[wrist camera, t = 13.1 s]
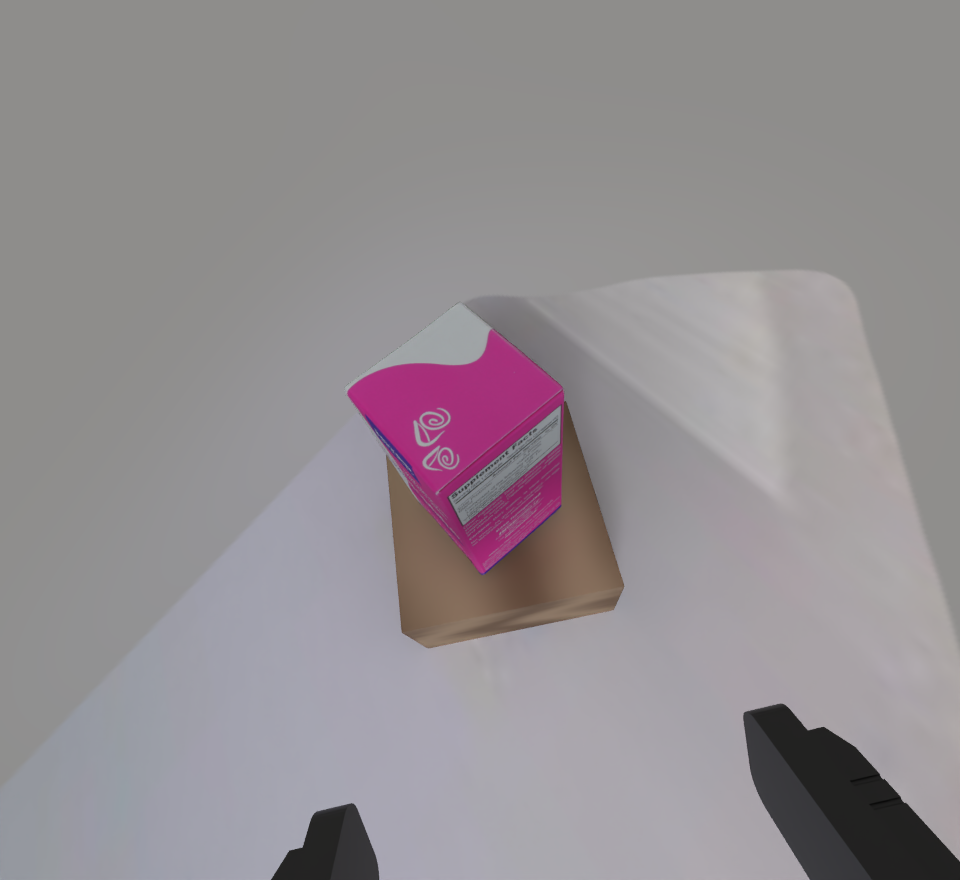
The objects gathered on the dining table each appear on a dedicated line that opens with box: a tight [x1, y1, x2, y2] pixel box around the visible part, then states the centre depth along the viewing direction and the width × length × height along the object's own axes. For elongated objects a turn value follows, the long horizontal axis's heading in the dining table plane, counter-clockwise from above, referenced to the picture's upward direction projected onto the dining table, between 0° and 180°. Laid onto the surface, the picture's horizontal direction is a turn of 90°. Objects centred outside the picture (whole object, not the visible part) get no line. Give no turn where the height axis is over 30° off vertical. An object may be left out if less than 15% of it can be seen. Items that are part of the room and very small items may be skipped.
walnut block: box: [386, 401, 624, 648], centre depth 30 cm, size 11×11×6 cm
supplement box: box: [344, 302, 564, 575], centre depth 22 cm, size 6×6×12 cm
